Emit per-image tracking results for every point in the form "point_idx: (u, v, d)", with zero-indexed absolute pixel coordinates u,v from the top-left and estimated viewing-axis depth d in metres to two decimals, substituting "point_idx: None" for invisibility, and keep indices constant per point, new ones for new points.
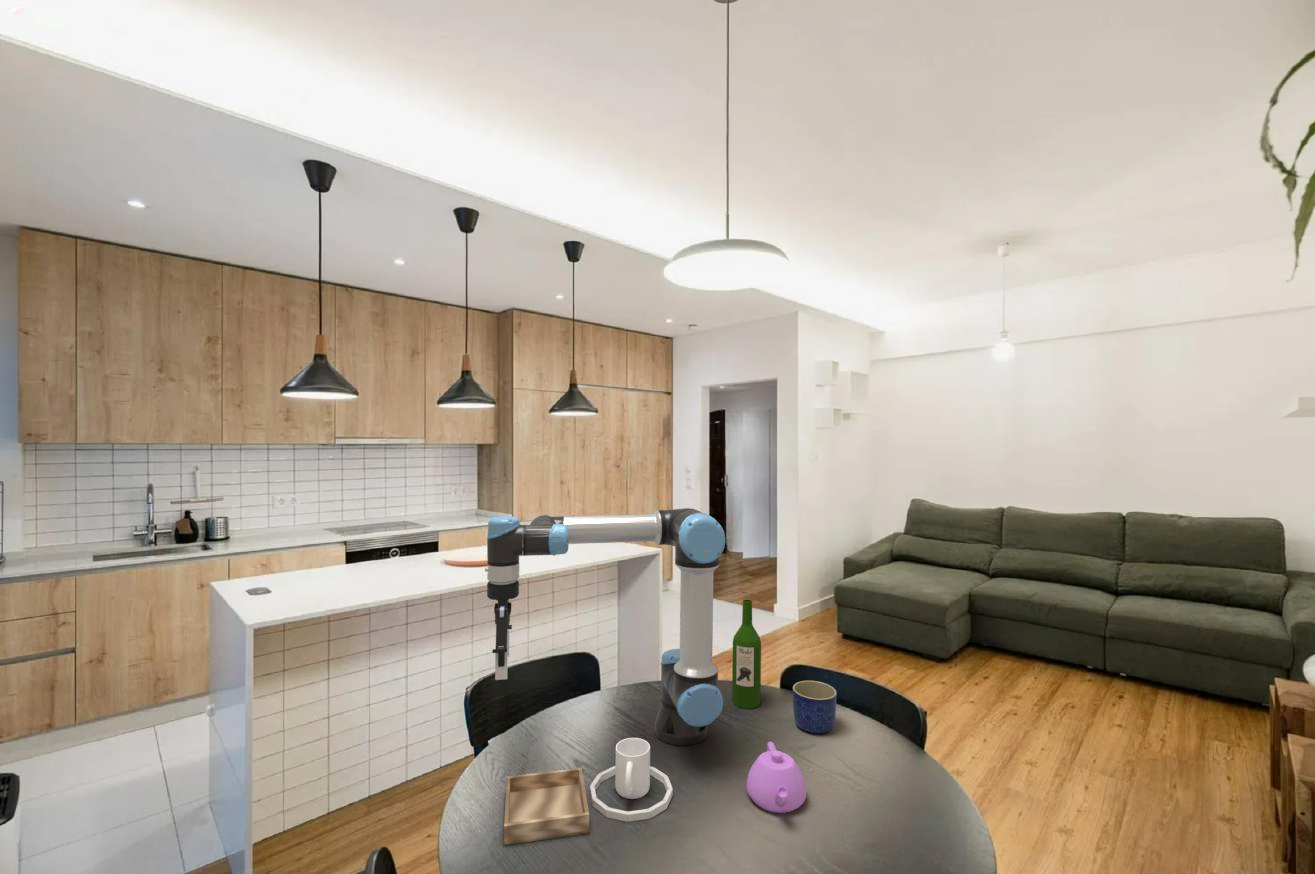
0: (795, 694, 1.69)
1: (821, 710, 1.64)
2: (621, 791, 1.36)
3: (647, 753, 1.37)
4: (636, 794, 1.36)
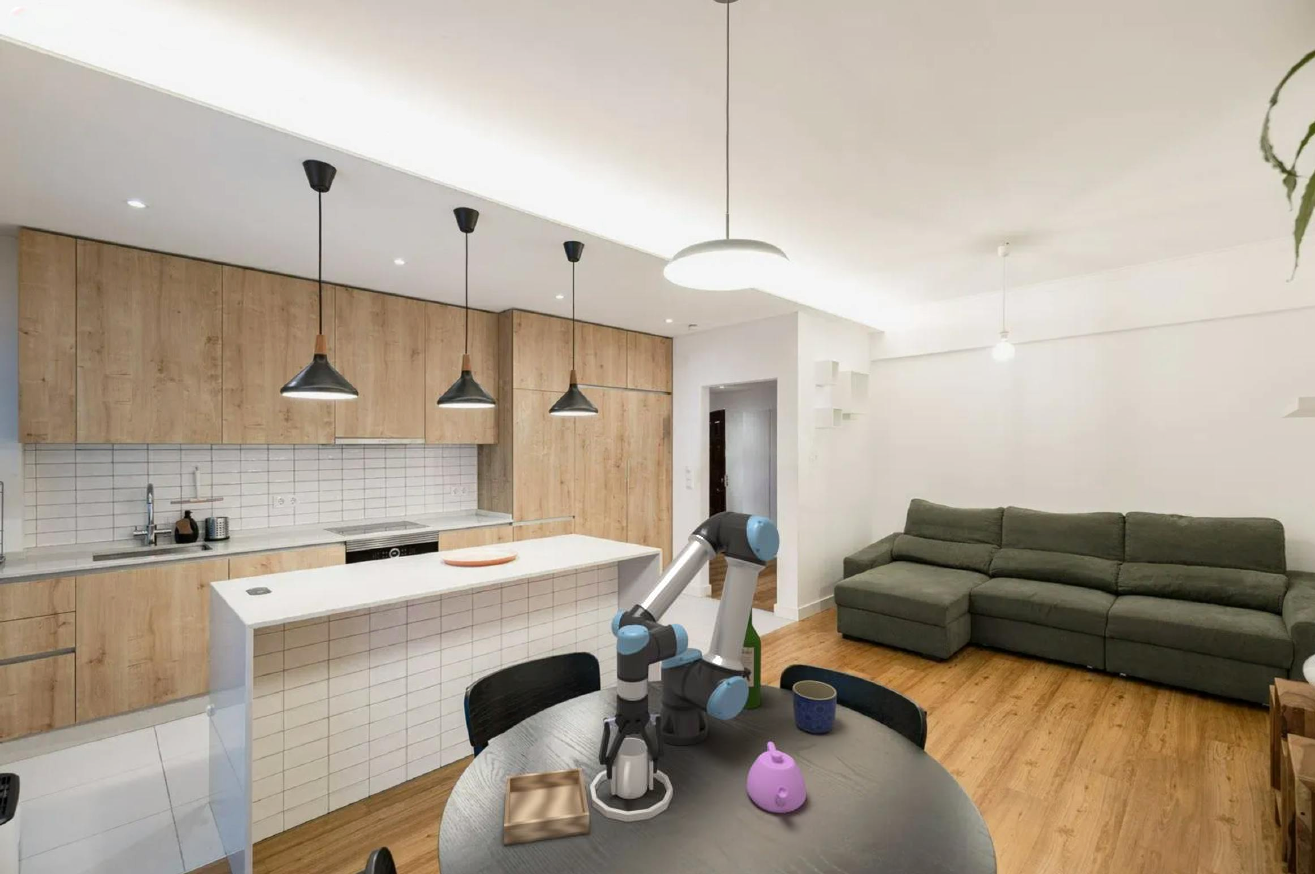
0: (795, 694, 1.69)
1: (821, 710, 1.64)
2: (619, 791, 1.36)
3: (645, 753, 1.37)
4: (634, 794, 1.36)
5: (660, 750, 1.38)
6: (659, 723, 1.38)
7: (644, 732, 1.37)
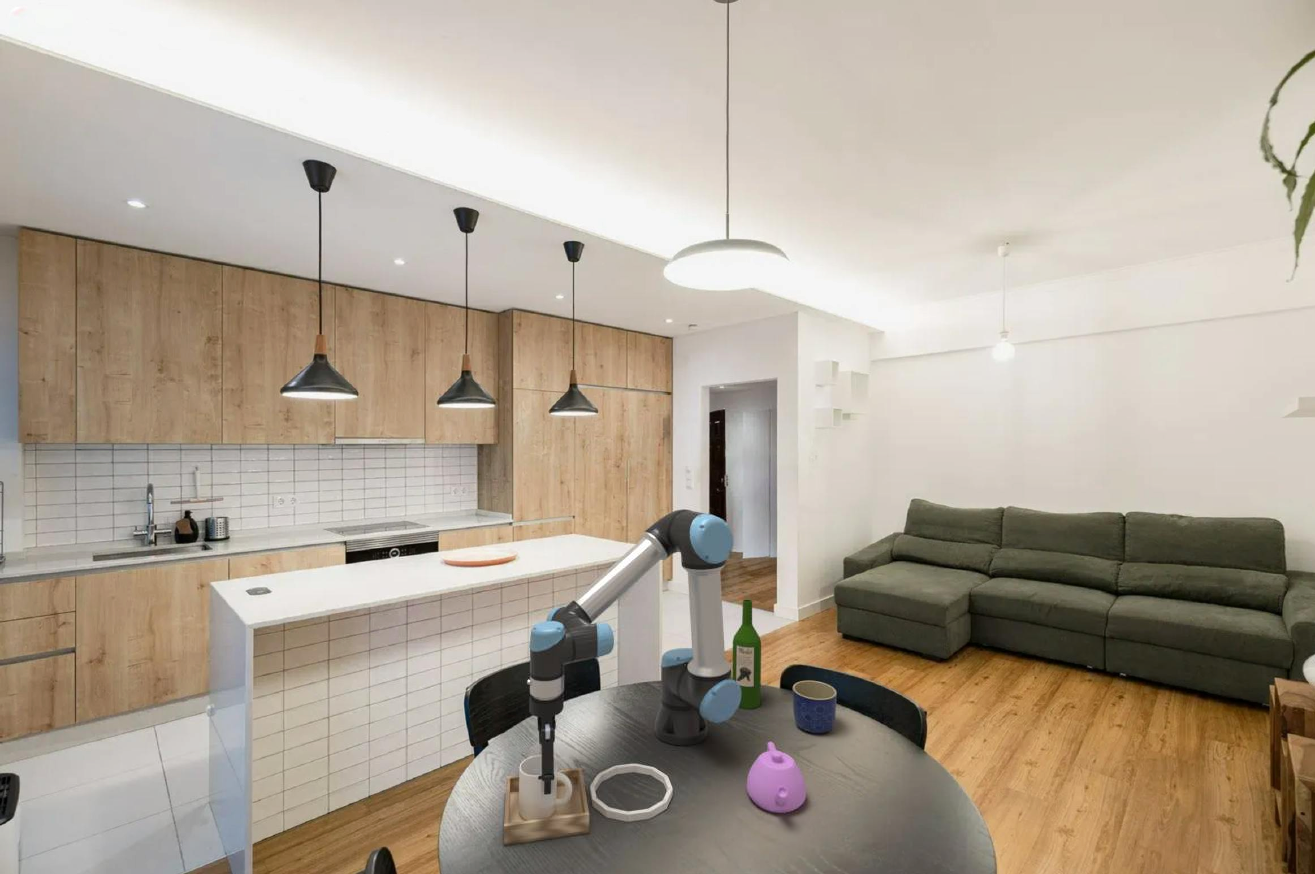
0: (795, 694, 1.69)
1: (821, 710, 1.64)
2: (550, 811, 1.28)
3: None
4: None
5: None
6: None
7: None
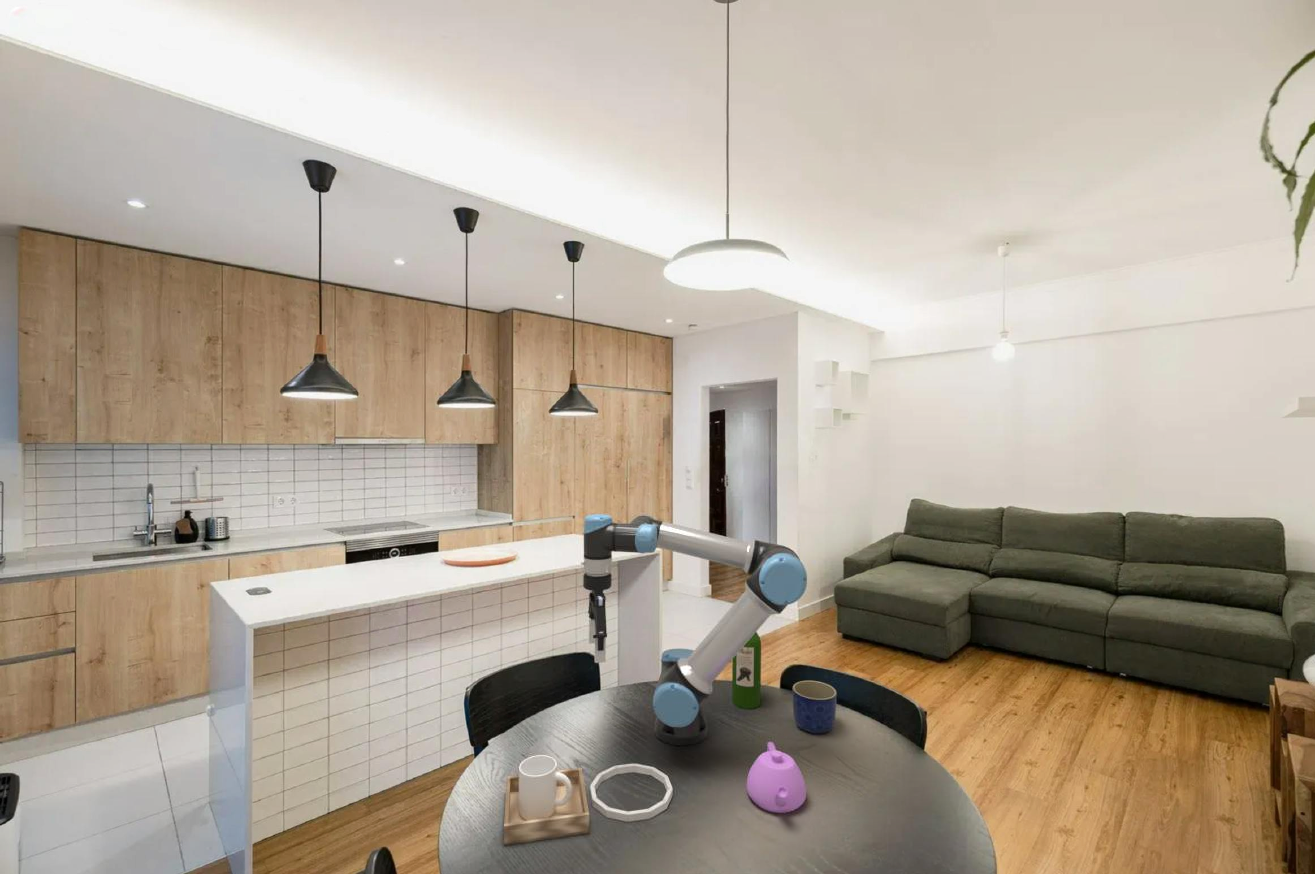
0: (795, 694, 1.69)
1: (820, 710, 1.64)
2: (550, 811, 1.28)
3: None
4: None
5: None
6: None
7: None
